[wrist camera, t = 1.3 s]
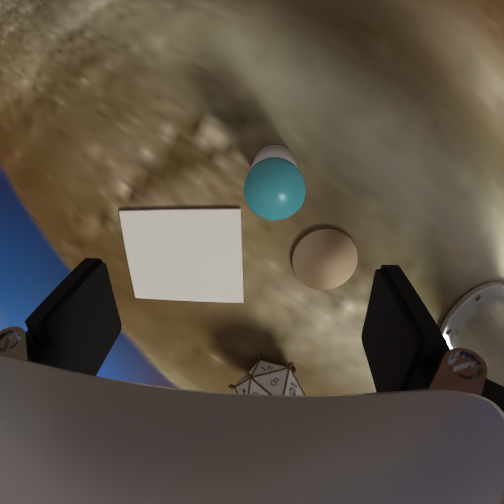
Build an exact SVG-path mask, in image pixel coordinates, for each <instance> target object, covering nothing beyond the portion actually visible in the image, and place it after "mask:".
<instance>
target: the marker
mask: <svg viewBox="0 0 504 504" xmlns="http://www.w3.org/2000/svg"><path fill="white" fill-rule="evenodd" d="M305 194H306V187H305V182H304V179H303V177H302V175H301V172H300V171H299V169H298V167H297V164H296V162H295V159H294V157H293V155H292V153H291V152H290V151H289V150H288V149H287V148H285V147H283V146H281V145H268V146H265V147H263V148H262V149H261V150H260V151H259V152H258V153H257V154H256V156H255V159H254V161H253V164H252V167H251V170H250V171H249V173H248V176H247V178H246V181H245V185H244V196H245V199H246V202H247V204H248V206H249V207H250V208H251V210H252V211H253V212H254V213H256V214H257V215H259V216H260V217H263V218H265V219H269V220H281V219H285V218H287V217H290V216H291V215H293V214H294V213H296V212H297V211H298V210H299V208H300V207H301V206H302V204H303V202H304V199H305Z"/></svg>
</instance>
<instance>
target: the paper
mask: <svg viewBox="0 0 504 504" xmlns="http://www.w3.org/2000/svg"><path fill="white" fill-rule="evenodd" d="M119 215H120V221H121V227H122V233H123V239H124V244H125V250H126V255H127V260H128V265H129V270H130V275H131V280H132V284H133V289H134V293H135V298H145V299H162V300H180V301H202V302H229V303H243V302H244V296H243V266H242V232H241V208H216V209H152V210H120V211H119Z"/></svg>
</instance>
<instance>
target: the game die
mask: <svg viewBox="0 0 504 504" xmlns="http://www.w3.org/2000/svg"><path fill="white" fill-rule="evenodd" d="M256 357H257V359H258V360H259V361H258V362H257V363H256V364H255V365H254V366H253V367H252V368H251V370H250V371H249V372H248V373H247V374H246V375H245V376H244V377H243V378H242V379H241V380H240V381H239V382H238V384H237V385H236V386H234V385H232V384H231V385H228V387H230V389H231V388H232V389H234V388H235V390H236V393H237V394H254V395H305V393H304V392H303V390H302V388H301V386H300V384H299V383H298V381H297V379H296V377H295V376H294V374H293V373H294V372H295V371H296V370H295V369H296V368H293V369H292V370H291V368H292V366H293V365H294V364H293V362H290V363H289V364H288V366H284V365H280V364H276V363H272V362H268V361H264V360H261V358H262V357H261V355H259V354H257V356H256Z"/></svg>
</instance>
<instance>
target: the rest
mask: <svg viewBox="0 0 504 504" xmlns="http://www.w3.org/2000/svg"><path fill="white" fill-rule="evenodd" d="M357 263H358V253H357V249H356V246H355V245H354V243H353V241H352V240H351V238H350V237H349V236H347V235H346V234H345V233H343V232H341V231H339V230H336V229H329V228H325V229H318V230H315V231H312V232H310V233H309V234H307V235H306V236H304V237H303V238H302V239H301V240H300V241H299V242H298V244H297V245H296V247H295V249H294V252H293V257H292V264H293V269H294V272H295V274H296V276H297V277H298V279H299V280H300V281H301V282H302V283H303V284H305V285H307V286H308V287H311V288H314V289H319V290H327V289H332V288H335V287H338V286H340V285H342V284H343V283H345V282H346V281H347V280H348V279H349V278H350V277H351V276H352V274H353V273H354V271H355V269H356V266H357Z"/></svg>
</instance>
